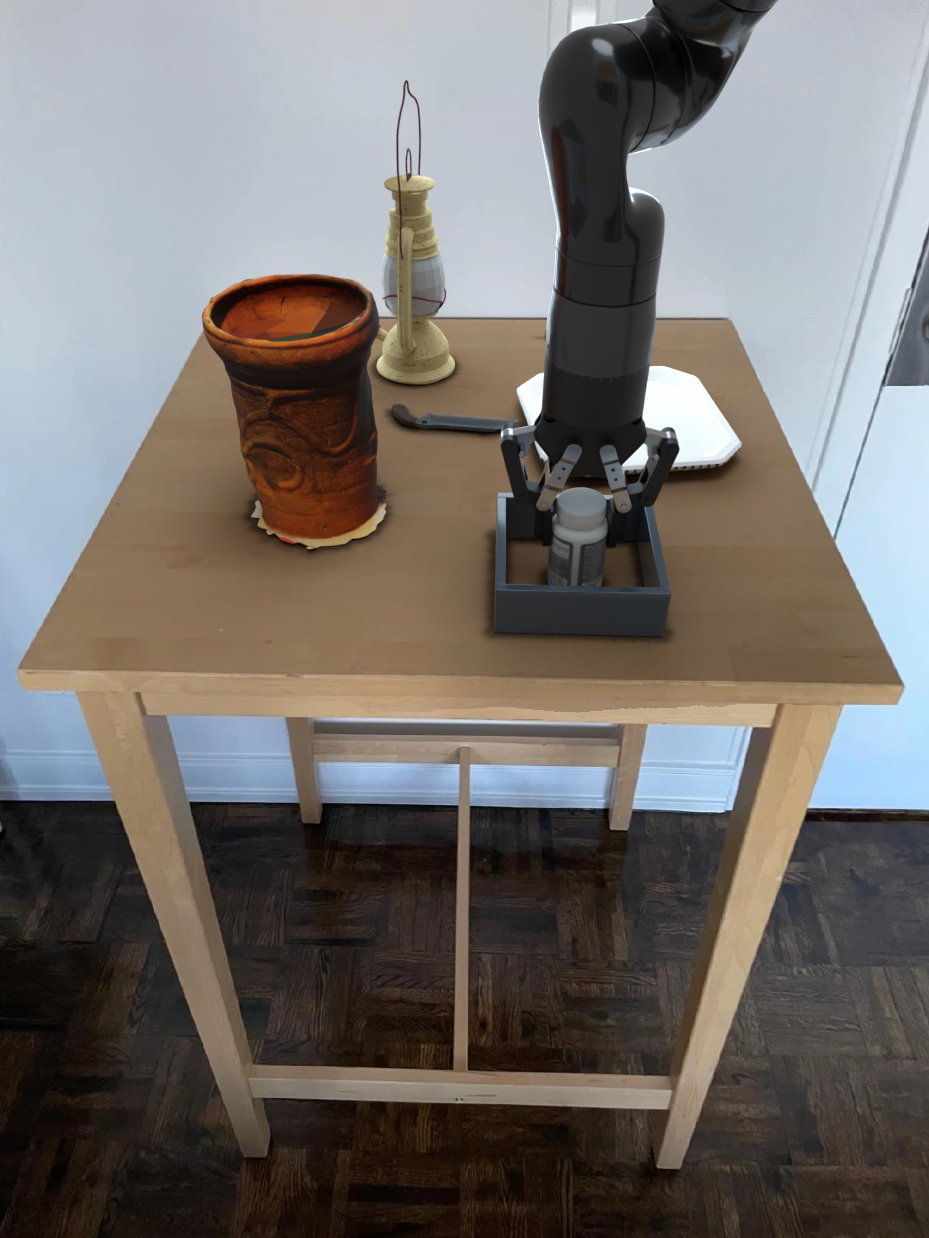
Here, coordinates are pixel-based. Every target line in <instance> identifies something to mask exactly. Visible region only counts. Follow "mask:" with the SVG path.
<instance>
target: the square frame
mask: <svg viewBox="0 0 929 1238" xmlns="http://www.w3.org/2000/svg"><path fill="white" fill-rule="evenodd" d="M560 494H561V493H558V494H557V496H556V498H555V500H554V502H553V517H554V515H555V514H556V506H557V499H558V497H559V495H560ZM602 495H603V496H604V497H605V499H606V515H605V518H606V520H607V518H608V510H609V502H610V498H613V495H612V494H602ZM534 511H535V508H534V506H533V505H531V504H529V503H525V504H518V503H517V502H515V500H514V497H513V493H512V492H497V493H496V515H495V517H496V518H495V519H496V520H495V563H494V565H495V567H494V570H495V571H494V625H493V626H494V630H493V631H494V633H499V634H501V633H502V634H538V635H539V634H541V635H582V636H585V635H586V636H620V637H624V636H625V637H656V638H657V637H660V638H661V637H664V634H665V628H666V624H667V623H666V622H667V618H668V613H669V608H670V603H671V598H672V591H671V585H670V581H669V576H668V571H667V567H666V561H665V557H664V553H663V548H662V543H661V537H660V533H659V527H658V523H657V517H656V513H655V509H654V504H653V505H652V506H650V507H643V506H642V505H639V506H635V507H633V508H632V509H631V510H630V512H629V516H628V523H627V530H626V537H625V539H624V540H623V542H637V543H636V544H637V550H638V556H639V561H640V565H641V566H640V567H641V573H642V579H643V584H644V587H643V586H640V587H638V586H602V585H601V586H564V585H549V584H522V583H521V584H518V583H517V584H515V583H507V539H511V540H512V539H515V540H516V539H517V540H518V539H519V540H536V539H535V536H534Z"/></svg>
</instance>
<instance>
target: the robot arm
mask: <svg viewBox="0 0 929 1238" xmlns="http://www.w3.org/2000/svg"><path fill="white" fill-rule="evenodd" d="M778 1H779V0H650V2H651V4H652V7H651V8H650V9H649V10H648V11H647V12H646V13H645V14H644V15H643V16H641V17H639V18H633V19H632V18H631V19H627V20H620V21H615V22H609V23H601V24H594V25H588V26H583V27H580V28H578V29H576V30H573V31H571V32H570V33H568V34H567V35H565V36H564V37H563V38H562V39H561V40H560V41H559V42H557V45H556V46H555V47H554V49H553V50H552V51H551V54H550V56H549V57H548V60H547V62H546V63H545V64H546V65H545V68H544V70H543V73H542V76H541V79H540V84H539V88H538V90H539V91H538V98H537V120H538V128H539V134H540V139H541V145H542V151H543V155H544V161H545V165H546V170H547V176H548V182H549V188H550V194H551V199H552V203H553V208H554V214H555V220H556V226H557V227H556V228H557V229H556V238H555V255H554V256H555V258H554V269H553V283H552V291H551V297H550V302H549V307H548V312H547V319H546V328H545V332H544V342H545V350H544V367H543V373H544V380H543V395H542V409H541V412H540V414H539V416H538V417H537V419H536V420H535V423H534V425H530V426H528V425H526V426H521V427H516V425H515V424H510V423H507V424H504V425H503V426H502V427H501V429H500V450H501V454H502V459H503V462H504V466H505V468H506V473H507V477H508V480H509V485H510V488H511V493H513V497H514V500H515V502H517V503H518V504H525V503H529V504H531V505H533V506H534V508H535V511H534V536H535V539H534V540H535V541H541V547H548V548H549V547H550V545H551V532H552V520H553V502H554V500H555V498H556V496H557V494H559V492H561V491H563V488H564V486H565V484H566V482H568V481H567V480H568V479H569V478H579V477H585V476H584V475H589V476H593V477H592V478H597V479H600V478H604V479H607V482H608V486H609V489H610V490H609V491H610V493H611V495H613V498H610V502H609V510H608V518H607V522H608V537H607V546H606V549H617V546H618V545H617V544H618V543H623V542H624V541H623V540H624V539H625V537H626V530H627V523H628V516H629V512H630V510H631V509H632V508H633V507H635V506H639V505H642V506H643V507H650V506H652V505H653V506H654V504H655V503H656V501H657V499H658V497H659V495H660V492H661V491H662V488H663V486H664V484H665V482H666V481H667V478H668V476H669V474H670V470H671V468H672V466H673V464H674V461H675V459H676V457H677V455H678V453H679V450H680V448H679V444H678V439H677V436H676V433H675V430H674V429H673V428H671V427H665V428H663V429H662V430H661V431H659V430H655V429H652V428H648V427H645V422H644V420H643V409H644V402H645V395H646V388H647V381H648V374H649V368H650V367H651V360H652V352H653V346H654V339H655V333H656V325H657V323H656V322H657V293H658V292H657V291H658V286H659V285H658V284H659V278H660V271H661V265H662V264H661V263H662V256H663V248H664V242H665V241H664V239H665V231H666V215H665V211H664V207H663V206H662V204H661V203H660V202H659V199H657V198H656V197H655V196H653V194H650V193H648V192H647V191H644V190H641V189H639V188H634V187H630V186H629V180H628V157H629V156H630V155H633V154H638V153H641V152H646V151H650V150H653V149H658V148H661V147H664V146H667V145H670V144H672V143H674V142H675V141H677V140H679V139H680V138H682V137H683V136H685V135H686V134H687V133H688V132H689V131H691V130H692V129H693V128H694V127H696V125H697V124H698V123H699V122H700V121H701V120H702V119H704V117H705V116H707V114H708V112H709V111H710V110H711V109H712V108H713V106H714V105H715V103H716V102H717V100H718V99H719V98H720V95H721V93H722V92H723V90H724V88H725V86H726V85H727V83H728V81H729V80H730V77H731V76H732V74H733V72H734V70H735V68H736V66H737V64H738V63H739V61H740V59H741V57H742V56H743V54H744V52H745V51H746V50H745V49H746V47H747V45H748V43H749V41H750V39H751V36H752V34H753V32H754V30H755V29H756V26H757V25H758V24H759V22H761V20H762V19H764V17H765V16H767V14H769V12H770V10H771V9H772V8H773V7H774V6H775V5H776V4H777V3H778ZM534 441H536V442H537V443H538V445H539V446H540V447H541V448H542V450H543V451H544V452H545V454H546V455H547V456H548V459H547V461H546V463H544V467H543V471H542V473H541V475H540V477H539V479H538V480H537V481H538V482H537V481H533V480H530V478H529V475H528V472H527V467H526V463H525V460H524V458H526V457H527V456H528V455H529V453H530V446H531V444H533V443H534ZM643 443H644V444H646V445H647V446H646V450H647V454H648V457H649V458H648V460H647V462H646V464H645V466H644V469H643V471H642V473H641V474H639V478H638V480H637V482H635V483H631V484H628V480H627V478H626V475H625V473H624V469H623V464H624V463H625V462H626V461H627V460H628V459H629V458H630V457H631V456H632V455H633V454H634V453H635V452H636V451H637V450H638V449H639V448H640V447H641V446H642V445H643Z"/></svg>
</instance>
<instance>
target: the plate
mask: <svg viewBox="0 0 929 1238" xmlns="http://www.w3.org/2000/svg"><path fill="white" fill-rule="evenodd" d="M543 380H544V372H540V373H537V374H536V375H535V376H533V377H531V378H530V379H528V380H527V381H526V382H524V383H522V384H520V386H518V387H517V388H516V395H517V398H518V401H519V404H520V407H521V409H522V412H523V415H524V418H525V421H526V423H527V426H530V425H534V423H535V420H536V419H537V417H538V416H539V414H540V412H541V409H542V395H543ZM643 420H644V422H645V427H648V428H652V429H655V430H659V431H661V430H662V429H663V428H665V427H671V428H673V429H674V430H675V433H676V436H677V439H678V444H679V448H680V450H679V453H678V455H677V457H676V459H675V461H674V464H673V466H672V468H671V470H670V472H683V471H684V472H685V471H686V472H687V471H696V470H697V471H698V470H705V469H710V468H711V469H712V468H718V467H722V466H724V465H726V464H727V463H728V462H729V461H730V460H731V459H733V457H734V456H735V455H736V454H737V453H738V452H740V450H741V449H742V441H741V440H740V438H739V436H737V433H736V432H735V431H734V429H733V427H732V426H731V425H730V423H729V422H728V420H727V419H726V417H725V416H724V414H723V413H722V412H721V410H720V408H719V407H718V405H717V404H716V402H715V401H714V399H713V397H712V396H711V395H710V393H709V392H708V391H707V388H705V386H704V384H703V383H702V382H701V380H700V379H699V377H697V376H695V375H694V374H689V373H687V372H684V371H681V370H677V369H674V368H672V367H668V366H664V365H654V366H651V365H650V368H649V374H648V381H647V388H646V395H645V402H644V409H643ZM533 443H534V446H535V449H536V451H537V455H538V458H539V460H540V461H541V462H542V463H543V464H545V463H546V461H547V459H548V456H547V455H546V454H545V452H544V451H543V450H542V448H541V447H540V446H539V445H538V443H537V442H536V441H534V442H533ZM646 446H647V445H646V444H644V443H643V445H642V446H641V447H640V448H639V449H638V450H637V451H636V452H635V453H634V454H633V455H632V456H631V457H630V458H629V459H628V460H627V461H626V462H625V463H624V464H623V469H624V473H625V476H627V475H641V473H642V471H643V469H644V466H645V464H646V462H647V460H648V458H649V457H648V454H647V450H646ZM670 472H669V473H670ZM583 477H585V478H594V477H593V476H589V475H584V476H583Z"/></svg>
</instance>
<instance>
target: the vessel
mask: <svg viewBox="0 0 929 1238" xmlns="http://www.w3.org/2000/svg"><path fill="white" fill-rule="evenodd" d="M201 321H202V329H203V333H204V337H205V339H206V341H207V343H208V345H209V346H210V348H211V349H212V350H213V352H214V353H215V354H216V355H217V356H218V358H220V360H221V361H222V362H223V366H224V369H225V372H226V374H227V376H228V378H229V381H230V392H231V396H232V400H233V405H234V408H235V413H236V414H235V415H236V419H237V420H236V421H237V425H238V429H239V445H240V451H241V457H242V458H243V459H244V462H245V469H246V473H247V477H248V479H249V481H250V483H251V485H252V486H253V488H254V491H255V494H256V497H257V500H256V501H255V502H254V505H255V509H254V511H253V513H252V514H251V516H250V518H255V519H258V522H257V527H259V528H260V529H263V530H266V532H265V533H266V534H267V535H268V536H271V535H274V534H275V535H276V536H277V538H279V540H281V541H283V542H286V543H290V544H292V545H293V544H297V543H299V544H302V545H305V546H307V547H306V549H308V550H312V549H317V548H320V547H330V546H331V547H333V546H341V545H345V544H347V543H348V542H350V541H352V539H360V538H363V537H367V536H369V535H370V534H371V533H373V532H374V531H376V530H377V528H378V527H377V526H378V525H379V524H380V523H381V522H382V521H383V520H384V518H385V515H386V513H387V510H386V507H387V504H386V502H385V500H386V497H383V496H385V495H386V494H387V493H388V491H387V490H386V489H384V488H383V486H382V484H381V481H377V480H378V460H377V459H378V458H377V456H378V445H379V444H378V441H379V439H378V438H379V437H378V435H379V432H378V428H377V425H376V417H375V409H374V401H373V388H372V382H371V377H370V374H369V372H368V363H369V360H370V357H371V354H372V346H373V344H374V342H375V340H376V336H377V333H378V328H379V325H380V315H379V311H378V307H377V302H376V300H375V298H374V294H373V292H371V291H370V290H368V289H367V288H366V287H365V286H364V285H363V284H361V283H360V282H359V281H357V280H354V279H351V278H345V277H344V278H343V277H339V276H333V275H328V274H322V273H321V274H320V273H305V274H301V273H299V274H296V273H295V274H293V273H292V274H290V273H289V274H271V275H263V276H259V277H255V278H245V279H243V280H241V281H239V282H236V283H234V284H231V285H230V286H228V287H227V288H226V289H224V290H222V291H221V292H220V293H218V294H216V295H214V296H212V297H210V300H209V302H208V304H207V305H205V307H204V309H203V311H202V314H201Z"/></svg>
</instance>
